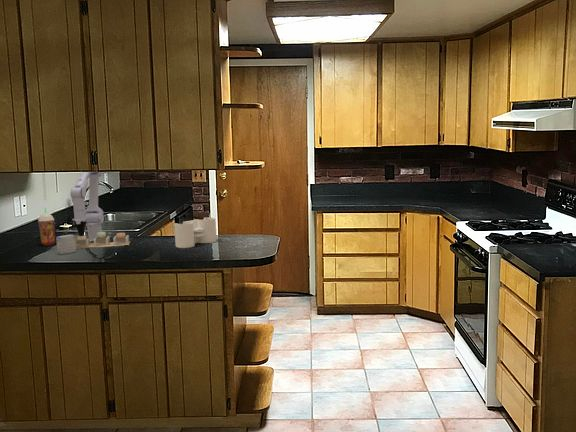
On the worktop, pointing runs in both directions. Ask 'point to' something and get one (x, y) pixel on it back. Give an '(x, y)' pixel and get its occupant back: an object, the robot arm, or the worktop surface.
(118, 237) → the terracotta key
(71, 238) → the medicine box
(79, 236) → the ivory key
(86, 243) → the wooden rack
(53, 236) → the smoothie
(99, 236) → the sage key
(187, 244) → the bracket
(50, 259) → the worktop surface
